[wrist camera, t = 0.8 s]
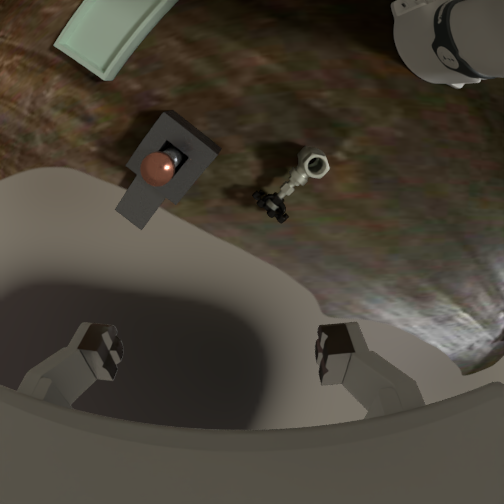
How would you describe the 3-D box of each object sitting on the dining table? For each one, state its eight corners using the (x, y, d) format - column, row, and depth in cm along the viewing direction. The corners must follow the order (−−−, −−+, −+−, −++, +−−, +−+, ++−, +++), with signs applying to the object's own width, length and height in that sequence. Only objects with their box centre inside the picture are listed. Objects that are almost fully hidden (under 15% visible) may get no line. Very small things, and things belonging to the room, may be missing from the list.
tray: (125, -34, 26) (119, -40, 23) (183, -5, 31) (179, -11, 28) (62, 46, 33) (53, 45, 30) (112, 80, 37) (104, 80, 35)
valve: (301, 133, 42) (252, 188, 47) (309, 139, 37) (251, 203, 41) (332, 160, 44) (282, 213, 49) (343, 171, 39) (286, 230, 43)
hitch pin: (175, 134, 42) (152, 145, 33) (196, 150, 44) (179, 167, 34) (159, 155, 44) (134, 172, 35) (180, 171, 46) (160, 193, 36)
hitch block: (173, 110, 40) (163, 111, 36) (221, 148, 44) (217, 154, 39) (112, 197, 48) (99, 208, 43) (154, 231, 51) (145, 244, 47)
